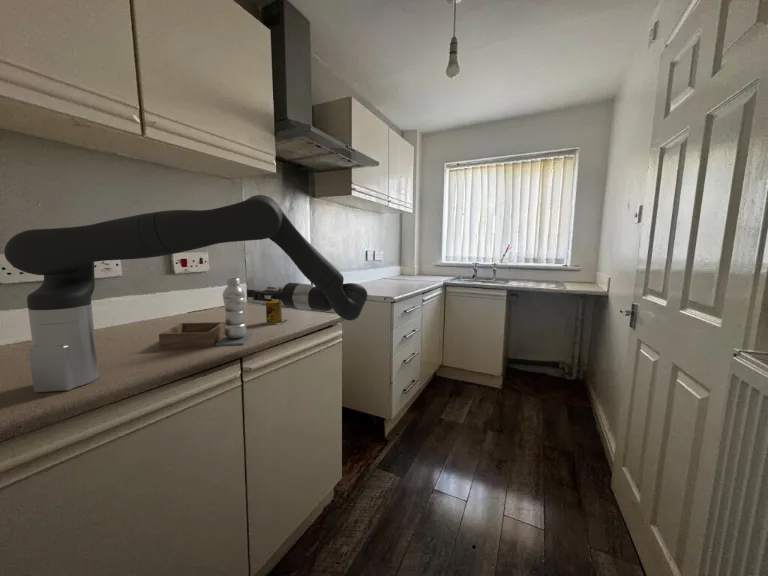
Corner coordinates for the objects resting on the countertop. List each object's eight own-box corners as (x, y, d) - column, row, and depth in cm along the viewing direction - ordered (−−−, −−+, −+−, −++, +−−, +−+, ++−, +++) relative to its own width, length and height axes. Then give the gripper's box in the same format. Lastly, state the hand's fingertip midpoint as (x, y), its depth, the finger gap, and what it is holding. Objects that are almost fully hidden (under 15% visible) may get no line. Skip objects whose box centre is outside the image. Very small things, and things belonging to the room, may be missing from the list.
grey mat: (243, 344, 94) (243, 342, 94) (215, 345, 92) (215, 343, 92) (252, 334, 105) (252, 332, 105) (228, 335, 104) (228, 333, 104)
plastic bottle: (251, 336, 100) (249, 278, 98) (232, 342, 94) (230, 279, 92) (238, 334, 103) (236, 277, 101) (220, 338, 97) (217, 278, 95)
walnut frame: (211, 346, 91) (210, 332, 90) (159, 348, 88) (158, 334, 88) (226, 334, 104) (225, 322, 104) (182, 335, 102) (181, 323, 101)
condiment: (262, 324, 120) (261, 295, 118) (271, 319, 128) (270, 292, 127) (280, 325, 119) (279, 295, 118) (287, 320, 128) (287, 292, 126)
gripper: (315, 281, 94) (273, 278, 99) (286, 285, 80) (239, 281, 86) (314, 305, 95) (273, 300, 100) (286, 312, 81) (240, 306, 87)
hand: (258, 291), depth 93 cm, fingers open, 8 cm apart
